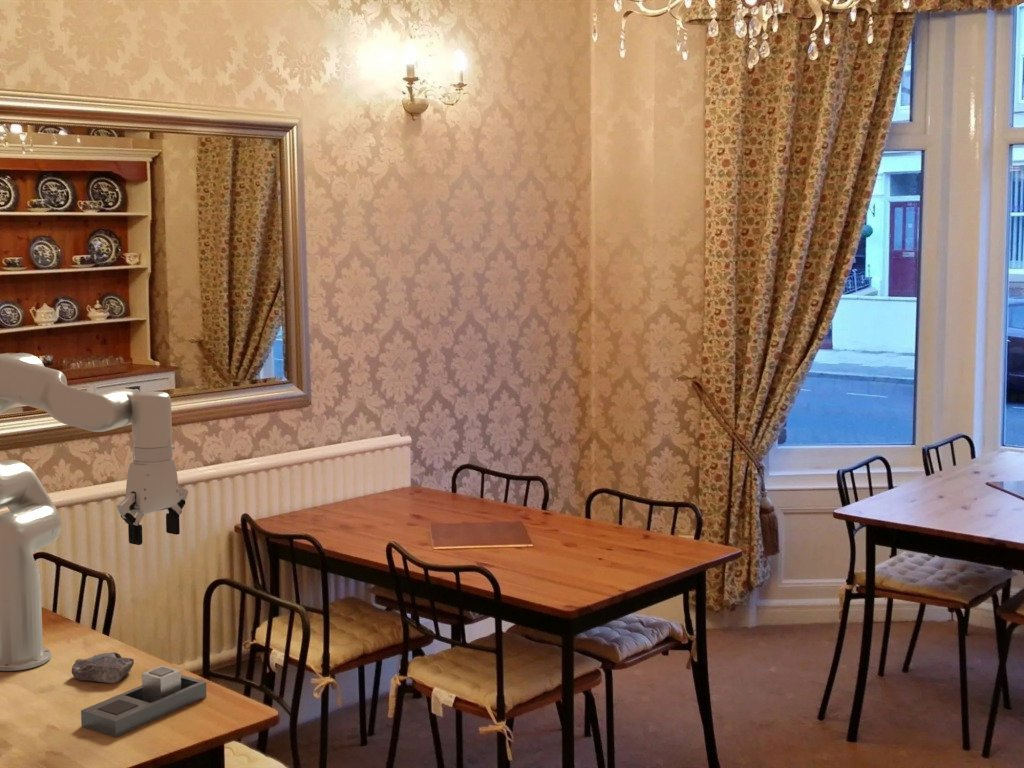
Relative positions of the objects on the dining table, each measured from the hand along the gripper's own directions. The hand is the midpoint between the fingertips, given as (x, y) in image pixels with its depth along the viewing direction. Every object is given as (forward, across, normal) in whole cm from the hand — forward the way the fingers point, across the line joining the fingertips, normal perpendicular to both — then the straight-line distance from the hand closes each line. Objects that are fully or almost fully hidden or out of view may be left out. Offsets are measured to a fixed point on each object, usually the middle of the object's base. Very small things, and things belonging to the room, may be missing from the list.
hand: (154, 538), depth 234 cm
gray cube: (+28, +10, +12) cm, 32 cm away
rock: (+29, +6, -8) cm, 30 cm away
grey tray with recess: (+28, +14, +12) cm, 34 cm away
